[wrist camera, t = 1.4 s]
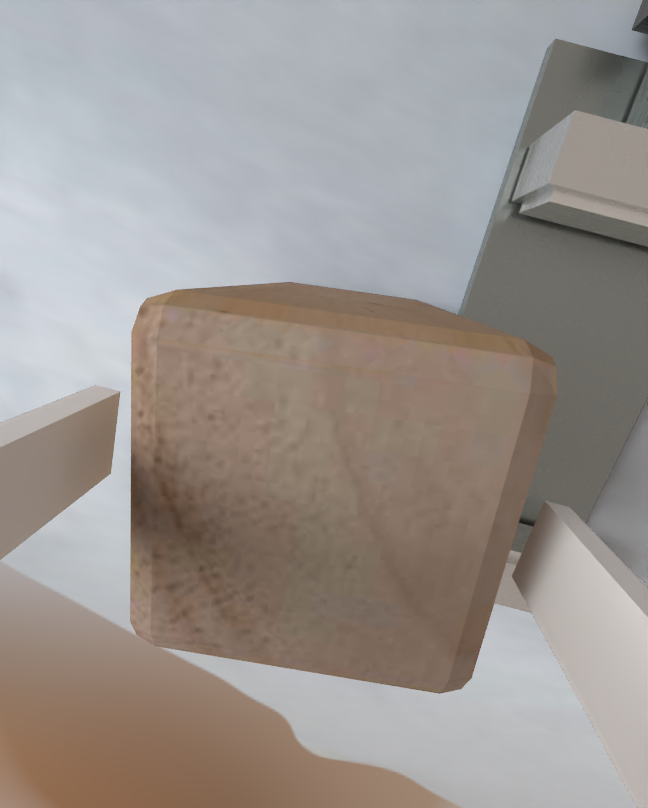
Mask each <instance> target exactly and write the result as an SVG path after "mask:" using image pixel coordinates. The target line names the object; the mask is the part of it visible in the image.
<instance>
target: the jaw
mask: <svg viewBox="0 0 648 808" xmlns="http://www.w3.org/2000/svg"><path fill="white" fill-rule="evenodd" d="M632 30H634V31H637V32H641V33H645V34H648V0H643V1H642V4H641V7H640V9H639V12H638V14H637V17H636V20H635V22H634V25H633V28H632ZM512 202H516V203H519V204H522V206H521V209H520V212H519V213H520V214H524V215H527V216H531V217H535V218H539V219H543V220H547V221H551V222H554V223H558V224H562V225H566V226H570V227H574V228H578V229H581V230H585V231H589V232H593V233H597V234H601V235H604V236H608V237H612V238H616V239H620V240H624V241H628V242H631V243H635V244H639V245H643V246H647V247H648V68H647V71H646V73H645V76H644V78H643V81H642V83H641V86H640V88H639V91H638V93H637V96H636V99H635V101H634V104H633V106H632V109H631V111H630V114H629V116H628V119H627V121H626V123H623V122H619V121H615V120H611V119H607V118H603V117H600V116H596V115H592V114H588V113H584V112H580V111H577V110H575V111H574V112H572V113H571V114H570V115H568V116H567V117H566V118H564V119H563V120H562V121H560V122H559V123H558V124H556V125H555V126H554V127H553V128H551V129H550V130H549V131H547V132H546V133H545V134H543V135H542V136H541V137H539V138H538V139H537V140H535V141H534V142H533V143H531V145H530V148H529V151H528V154H527V157H526V160H525V163H524V166H523V169H522V172H521V174H520V177H519V180H518V183H517V186H516V189H515V192H514V195H513V198H512Z"/></svg>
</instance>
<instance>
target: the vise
mask: <svg viewBox="0 0 648 808" xmlns="http://www.w3.org/2000/svg"><path fill="white" fill-rule="evenodd" d="M647 68H648V63H647V62H643V61H639V60H635V59H631V58H628V57H624V56H620V55H616V54H612V53H608V52H605V51H601V50H597V49H593V48H589V47H585V46H582V45H578V44H574V43H570V42H566V41H562V40H559V39H555V40H554V41H553V42H552V44H551V45H550V46H549V47H548V48H547V51H546V54H545V57H544V60H543V63H542V66H541V69H540V72H539V75H538V78H537V81H536V84H535V87H534V90H533V93H532V96H531V99H530V102H529V105H528V108H527V111H526V114H525V117H524V120H523V123H522V126H521V129H520V132H519V135H518V138H517V141H516V144H515V147H514V150H513V153H512V156H511V159H510V162H509V165H508V168H507V171H506V174H505V177H504V180H503V183H502V186H501V189H500V192H499V195H498V198H497V201H496V204H495V207H494V210H493V213H492V216H491V219H490V222H489V225H488V228H487V231H486V234H485V237H484V240H483V243H482V246H481V249H480V252H479V254H478V257H477V260H476V263H475V266H474V269H473V272H472V275H471V278H470V281H469V284H468V287H467V290H466V293H465V296H464V299H463V302H462V305H461V308H460V311H459V314H458V315H459V316H461V317H464V318H467V319H470V320H472V321H475V322H478V323H481V324H483V325H486V326H489V327H492V328H494V329H497V330H500V331H503V332H505V333H508V334H511V335H514V336H516V337H519V338H522V339H525V340H526V341H528V342H529V343H531V344H533V345H534V346H536V347H537V348H539V349H541V350H542V351H544V352H545V353H547V354H549V355H550V356H552V357H553V359H554V362H555V364H556V367H557V398H556V401H555V405H554V408H553V411H552V414H551V418H550V421H549V424H548V428H547V431H546V434H545V437H544V441H543V444H542V447H541V451H540V454H539V457H538V460H537V464H536V467H535V470H534V474H533V477H532V480H531V484H530V487H529V490H528V493H527V497H526V500H525V503H524V507H523V510H522V513H521V516H520V520H519V523H518V526H517V530H516V533H515V536H514V539H513V543H512V546H511V549H510V553H509V556H508V559H507V563H506V566H505V569H504V572H503V576H502V579H501V582H500V586H499V589H498V592H497V595H496V599H495V602H494V603H495V604H499V605H503V606H507V607H511V608H515V609H519V610H523V611H526V612H530V613H531V611H530V609H529V607H528V605H527V604H526V602H525V600H524V598H523V596H522V594H521V593H520V591H519V589H518V587H517V585H516V583H515V581H514V580H513V578H512V574H513V572H514V570H515V567H516V565H517V563H518V561H519V558H520V556H521V554H522V552H523V549H524V547H525V545H526V542H527V540H528V538H529V536H530V533H531V531H532V529H533V527H534V524H535V522H536V520H537V517H538V515H539V513H540V511H541V508H542V506H543V504H544V502H545V501H548V502H551V503H555V504H559V505H563V506H567V507H570V508H571V509H572V510H573V511H574V512H575V513H576V514H577V515H578V516H579V517H580V518H581V520H582V521H583V522H584V523H585V524H586V522H587V520H588V518H589V516H590V513H591V511H592V509H593V507H594V505H595V503H596V501H597V499H598V497H599V495H600V493H601V491H602V489H603V487H604V485H605V483H606V481H607V479H608V477H609V475H610V473H611V471H612V469H613V467H614V465H615V463H616V461H617V459H618V456H619V454H620V452H621V450H622V448H623V446H624V444H625V442H626V440H627V438H628V436H629V434H630V432H631V430H632V428H633V426H634V424H635V422H636V420H637V418H638V416H639V414H640V412H641V410H642V408H643V406H644V404H645V402H646V399H647V397H648V247H647V246H643V245H639V244H635V243H631V242H628V241H624V240H620V239H616V238H612V237H608V236H604V235H601V234H597V233H593V232H589V231H585V230H581V229H578V228H574V227H570V226H566V225H562V224H558V223H554V222H551V221H547V220H543V219H539V218H535V217H531V216H527V215H524V214H520V213H519V212H520V209H521V206H522V204H519V203H516V202H512V198H513V195H514V192H515V189H516V186H517V183H518V180H519V177H520V174H521V172H522V169H523V166H524V163H525V160H526V157H527V154H528V151H529V148H530V145H531V143H533V142H534V141H535V140H537V139H538V138H539V137H541V136H542V135H543V134H545V133H546V132H547V131H549V130H550V129H551V128H553V127H554V126H555V125H556V124H558V123H559V122H560V121H562V120H563V119H564V118H566V117H567V116H568V115H570V114H571V113H572V112H574V111H575V110H577V111H580V112H584V113H588V114H592V115H596V116H600V117H603V118H607V119H611V120H615V121H619V122H623V123H626V121H627V119H628V116H629V114H630V111H631V109H632V106H633V104H634V101H635V99H636V96H637V93H638V91H639V88H640V86H641V83H642V81H643V78H644V76H645V73H646V71H647Z"/></svg>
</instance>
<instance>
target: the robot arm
mask: <svg viewBox="0 0 648 808" xmlns="http://www.w3.org/2000/svg"><path fill="white" fill-rule="evenodd" d="M119 398H120V392H119V391H115V390H112V389H108V388H104V387H100V386H96V385H95V386H92V387H90V388H87V389H85V390H82V391H80V392H77V393H75V394H72V395H69V396H67V397H64V398H62V399H59V400H57V401H54V402H52V403H49V404H47V405H44V406H42V407H39V408H37V409H34V410H31V411H29V412H26V413H24V414H21V415H19V416H16V417H14V418H11V419H9V420H6V421H4V422H1V423H0V560H1V559H2V558H3V557H5V556H6V555H7V554H8V553H10V552H11V551H12V550H13V549H15V548H16V547H17V546H19V545H20V544H21V543H22V542H24V541H25V540H26V539H28V538H29V537H30V536H31V535H33V534H34V533H35V532H36V531H38V530H39V529H40V528H42V527H43V526H44V525H45V524H47V523H48V522H49V521H51V520H52V519H53V518H54V517H56V516H57V515H58V514H59V513H61V512H62V511H63V510H65V509H66V508H67V507H68V506H70V505H71V504H72V503H74V502H75V501H76V500H77V499H79V498H80V497H81V496H83V495H84V494H85V493H86V492H88V491H89V490H90V489H91V488H93V487H94V486H95V485H97V484H98V483H99V482H100V481H102V480H103V479H104V478H106V477H107V476H108V475H109V474H111V467H112V458H113V449H114V441H115V432H116V424H117V415H118V406H119ZM512 578H513V580H514V581H515V583H516V585H517V587H518V589H519V591H520V593H521V594H522V596H523V598H524V600H525V602H526V604H527V605H528V607H529V609H530V611H531V613H532V615H533V617H534V618H535V620H536V622H537V624H538V626H539V628H540V629H541V631H542V633H543V635H544V637H545V639H546V641H547V642H548V644H549V646H550V648H551V650H552V652H553V653H554V655H555V657H556V659H557V661H558V663H559V665H560V666H561V668H562V670H563V672H564V674H565V676H566V678H567V679H568V681H569V683H570V685H571V687H572V689H573V690H574V692H575V694H576V696H577V698H578V700H579V702H580V703H581V705H582V707H583V709H584V711H585V713H586V714H587V716H588V718H589V720H590V722H591V724H592V726H593V727H594V729H595V731H596V733H597V735H598V737H599V738H600V740H601V742H602V744H603V746H604V748H605V750H606V751H607V753H608V755H609V757H610V759H611V761H612V762H613V764H614V766H615V768H616V770H617V772H618V774H619V775H620V777H621V779H622V781H623V783H624V785H625V786H626V788H627V790H628V792H629V794H630V796H631V798H632V799H633V801H634V803H635V805H636V807H637V808H648V588H647V587H646V586H645V585H644V584H643V583H642V582H641V581H640V579H639V578H638V577H637V576H636V575H635V574H634V573H633V572H632V571H631V570H630V569H629V568H628V567H627V566H626V565H625V564H624V563H623V562H622V561H621V560H620V559H619V558H618V557H617V556H616V555H615V554H614V553H613V552H612V551H611V550H610V548H609V547H608V546H607V545H606V544H605V543H604V542H603V541H602V540H601V539H600V538H599V537H598V536H597V535H596V534H595V533H594V532H593V531H592V530H591V529H590V528H589V527H588V526H587V525H586V524H585V523H584V522H583V521H582V520H581V518H580V517H579V516H578V515H577V514H576V513H575V512H574V511H573V510H572V509H571V508H570V507H567V506H563V505H559V504H555V503H551V502H548V501H545V502H544V504H543V506H542V508H541V511H540V513H539V515H538V517H537V520H536V522H535V524H534V527H533V529H532V531H531V533H530V536H529V538H528V540H527V542H526V545H525V547H524V549H523V552H522V554H521V556H520V558H519V561H518V563H517V565H516V567H515V570H514V572H513V574H512Z"/></svg>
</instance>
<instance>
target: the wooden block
mask: <svg viewBox="0 0 648 808" xmlns="http://www.w3.org/2000/svg"><path fill="white" fill-rule="evenodd" d="M556 398H557V367H556V364H555V362H554V359H553V357H552V356H550V355H549V354H547V353H545V352H544V351H542V350H541V349H539V348H537V347H536V346H534V345H533V344H531V343H529V342H528V341H526V340H525V339H522V338H519V337H516V336H514V335H511V334H508V333H505V332H503V331H500V330H497V329H494V328H492V327H489V326H486V325H483V324H481V323H478V322H475V321H472V320H470V319H467V318H464V317H461V316H459V315H456V314H453V313H450V312H448V311H445V310H442V309H439V308H437V307H434V306H431V305H428V304H426V303H423V302H420V301H417V300H412V299H405V298H398V297H391V296H384V295H377V294H370V293H363V292H356V291H349V290H342V289H335V288H328V287H321V286H314V285H306V284H299V283H292V282H285V283H270V284H255V285H241V286H226V287H211V288H196V289H182V290H175V291H171V292H168V293H164V294H161V295H157V296H154V297H150V298H147V299H146V300H145V301H144V303H143V304H142V305H141V306H140V309H139V312H138V315H137V318H136V321H135V324H134V327H133V330H132V361H131V588H130V622H131V624H132V626H133V628H134V630H135V632H136V634H137V636H139V637H141V638H142V639H144V640H146V641H147V642H149V643H151V644H152V645H154V646H158V647H164V648H170V649H176V650H182V651H188V652H194V653H200V654H206V655H212V656H218V657H224V658H230V659H236V660H242V661H248V662H254V663H260V664H266V665H272V666H278V667H284V668H290V669H296V670H302V671H308V672H314V673H320V674H326V675H332V676H338V677H344V678H350V679H356V680H362V681H368V682H374V683H380V684H386V685H392V686H398V687H404V688H410V689H416V690H422V691H428V692H434V693H444V692H449V691H454V690H458V689H461V688H462V687H463V686H464V685H465V684H466V683H467V682H468V681H469V680H470V679H471V678H472V674H473V671H474V668H475V665H476V661H477V658H478V655H479V651H480V648H481V645H482V642H483V638H484V635H485V632H486V628H487V625H488V622H489V618H490V615H491V612H492V609H493V605H494V602H495V599H496V595H497V592H498V589H499V586H500V582H501V579H502V576H503V572H504V569H505V566H506V563H507V559H508V556H509V553H510V549H511V546H512V543H513V539H514V536H515V533H516V530H517V526H518V523H519V520H520V516H521V513H522V510H523V507H524V503H525V500H526V497H527V493H528V490H529V487H530V484H531V480H532V477H533V474H534V470H535V467H536V464H537V460H538V457H539V454H540V451H541V447H542V444H543V441H544V437H545V434H546V431H547V428H548V424H549V421H550V418H551V414H552V411H553V408H554V405H555V401H556Z"/></svg>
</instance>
